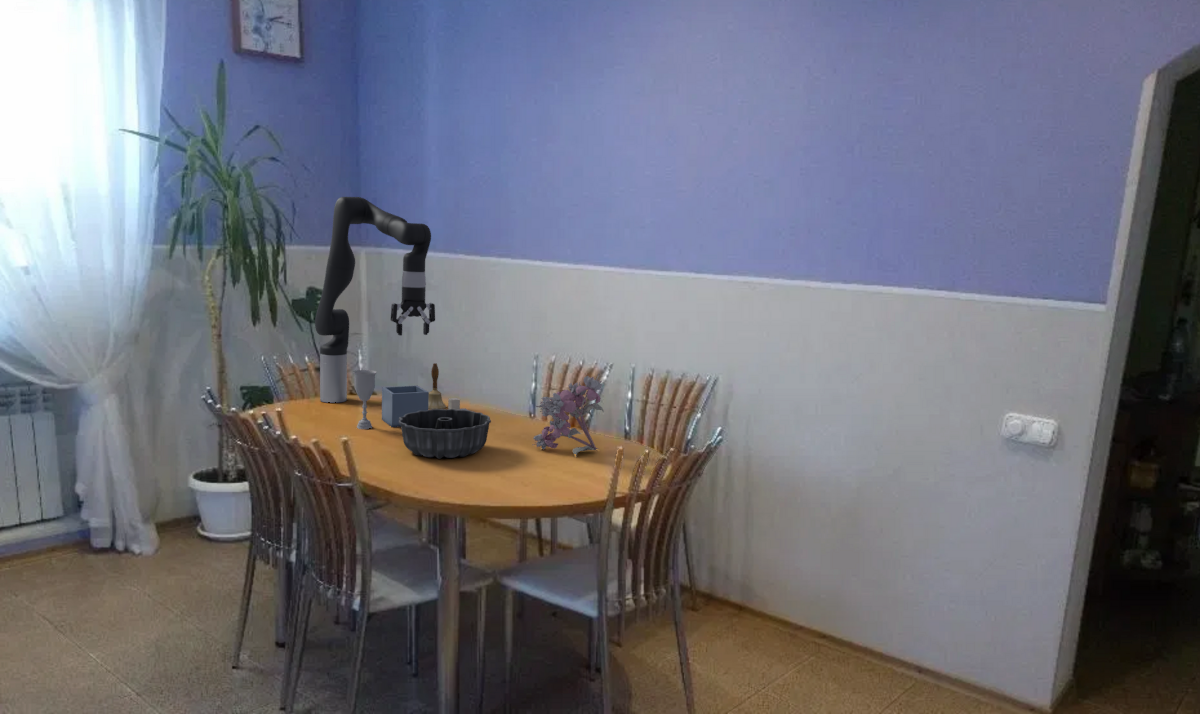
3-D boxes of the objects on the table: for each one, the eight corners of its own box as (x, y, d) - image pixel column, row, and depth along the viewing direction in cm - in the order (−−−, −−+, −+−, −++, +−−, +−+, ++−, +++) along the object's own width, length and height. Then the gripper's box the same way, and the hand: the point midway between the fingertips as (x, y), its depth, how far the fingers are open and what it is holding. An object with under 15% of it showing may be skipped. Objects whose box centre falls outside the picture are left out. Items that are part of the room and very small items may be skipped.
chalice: (379, 425, 276) (379, 370, 274) (371, 430, 270) (372, 374, 267) (357, 424, 277) (357, 369, 274) (349, 429, 270) (349, 372, 268)
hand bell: (446, 409, 305) (447, 365, 303) (423, 409, 303) (423, 365, 301) (445, 404, 313) (446, 361, 311) (422, 404, 311) (423, 361, 309)
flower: (578, 432, 273) (550, 365, 264) (629, 440, 257) (601, 368, 248) (535, 469, 261) (504, 399, 252) (586, 479, 245) (555, 405, 236)
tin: (381, 419, 285) (382, 387, 283) (416, 417, 291) (417, 385, 289) (391, 427, 275) (392, 394, 273) (428, 424, 281) (428, 392, 279)
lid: (429, 416, 294) (429, 396, 293) (465, 414, 300) (465, 394, 299) (441, 425, 283) (442, 403, 281) (478, 422, 289) (479, 401, 288)
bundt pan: (406, 466, 232) (406, 430, 231) (391, 442, 256) (391, 410, 255) (500, 461, 242) (501, 426, 241) (477, 438, 266) (478, 407, 265)
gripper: (430, 284, 284) (429, 333, 287) (388, 284, 277) (387, 333, 280) (438, 286, 278) (437, 336, 280) (395, 286, 271) (394, 337, 273)
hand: (412, 334), depth 280 cm, fingers open, 8 cm apart
